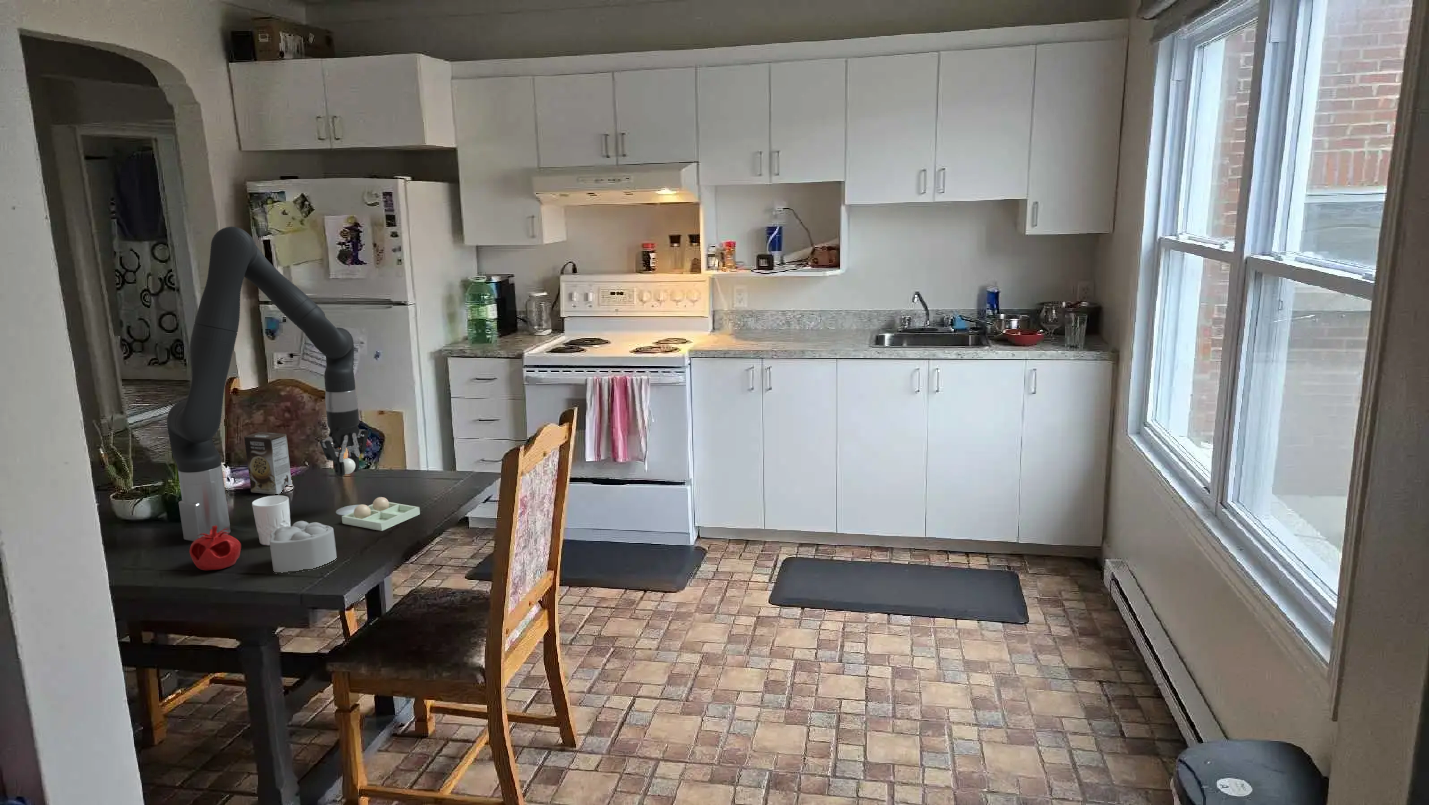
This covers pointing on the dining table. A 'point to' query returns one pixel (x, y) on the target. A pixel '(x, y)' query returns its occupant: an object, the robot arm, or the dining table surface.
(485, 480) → the dining table surface
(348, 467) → the egg
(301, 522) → the lumpy-topped squat cylinder
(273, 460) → the coffee box
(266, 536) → the white cup
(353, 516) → the tray
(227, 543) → the red tomato lantern
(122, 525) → the dining table surface
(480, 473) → the dining table surface
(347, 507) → the saucer
